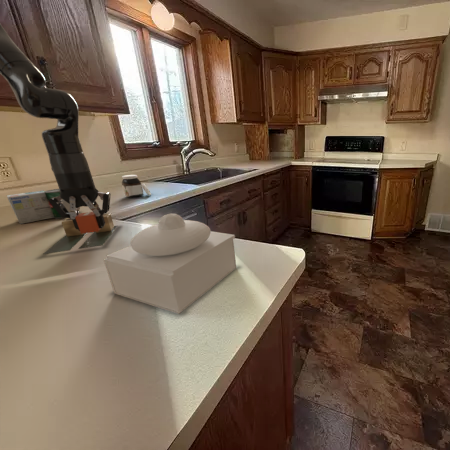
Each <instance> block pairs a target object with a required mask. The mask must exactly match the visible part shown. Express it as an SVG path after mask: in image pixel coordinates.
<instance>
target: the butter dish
mask: <svg viewBox="0 0 450 450" xmlns="http://www.w3.org/2000/svg"><path fill="white" fill-rule="evenodd" d="M234 239H236V235H235V234H231V233H225V232H219V231H212V230H211V228H210V226H209V225H207V224H205V223H204V222H201V221H197V220H189V219H183V217H182V216H181V215H179V214H178V213H167V214H164V215H162V216H161V217H160V218H159V220H158V223H156V224H153V225H151V226H148V227H146V228H144V229H142V230H140V231H139V232H138V233H136V234H135V235H134V236H133V237H132V239H130V244H129V246H126V247H124V248H121V249H119V250H116V251H114V252H111V253H109V254H107V255H105V256H106V258H104V259H103V263H104V266H105V269H106V272H107V275H108V278H109V281H110V284H111V287H112V290H113V293H114V295H118V296H120V297H125V298H127V299H130V300H133V301H137V302H140V303H142V304H146V305H149V306H153V307H155V308H158V309H162V310H165V311H168V312H171V313H174V314H177V315H180V314H181V313H182V312H184V310H186V309H187V308H189V307H190V306H191V305H192V304H194V303H195V302H196V301H197V300H198V299H200V298H201V297H202V296H203V295H205V294H206V293H207V292H208V291H210V290H211V289H212V288H213V287H214V286H216V285H217V284H218V283H220V282H221V281H222V280H223V279H224V278H227V276H228V275H229V274H231V273H232V272H233V271H235V270H236V269H237V262H236V254H235V245H234V244H235V243H234Z"/></svg>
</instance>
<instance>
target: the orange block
mask: <svg viewBox="0 0 450 450" xmlns="http://www.w3.org/2000/svg"><path fill="white" fill-rule="evenodd" d="M75 218H76V221H77V224H78V227H79V230H80V232H81V233H87V234H88V233H94V232H96V231H99V230H100V229H101V228H99V226H98V223H97V220H96V215H95V214H94V213H93V211H87V212H79V215H77V216H76V217H75Z"/></svg>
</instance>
